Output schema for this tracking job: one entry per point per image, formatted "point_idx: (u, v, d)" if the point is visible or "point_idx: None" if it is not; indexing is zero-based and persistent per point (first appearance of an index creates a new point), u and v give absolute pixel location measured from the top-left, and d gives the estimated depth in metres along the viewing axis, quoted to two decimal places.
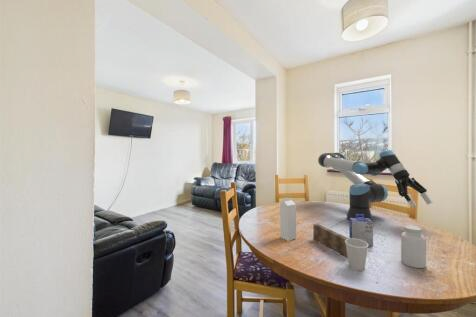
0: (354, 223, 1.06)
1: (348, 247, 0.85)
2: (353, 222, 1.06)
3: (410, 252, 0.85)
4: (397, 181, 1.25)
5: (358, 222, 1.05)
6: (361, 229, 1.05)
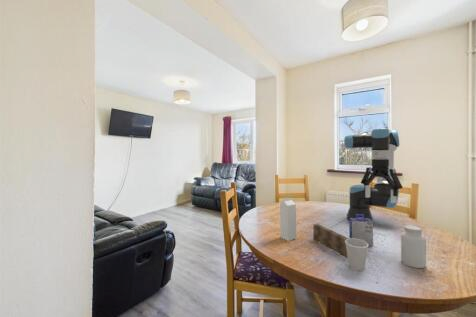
0: (354, 223, 1.06)
1: (348, 247, 0.85)
2: (353, 222, 1.06)
3: (410, 252, 0.85)
4: None
5: (358, 222, 1.05)
6: (361, 229, 1.05)
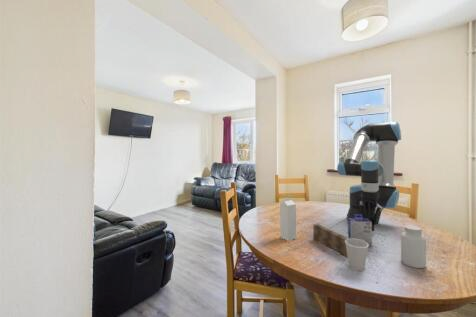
0: (353, 223, 1.05)
1: (348, 247, 0.85)
2: (352, 222, 1.05)
3: (410, 252, 0.85)
4: None
5: (357, 222, 1.05)
6: (359, 230, 1.05)
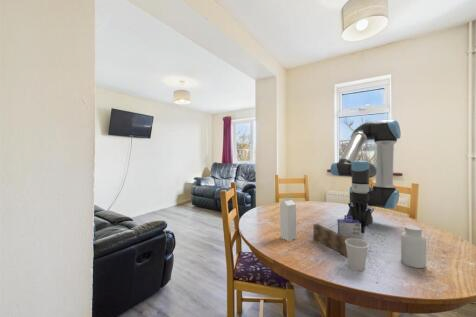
0: (342, 225, 1.04)
1: (348, 247, 0.85)
2: (341, 223, 1.04)
3: (410, 252, 0.85)
4: None
5: (346, 224, 1.03)
6: (348, 231, 1.03)
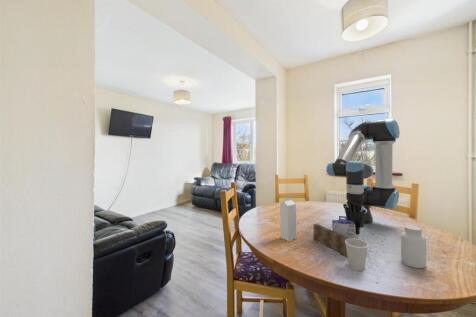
0: (335, 225, 1.03)
1: (348, 247, 0.85)
2: (334, 224, 1.03)
3: (410, 252, 0.85)
4: None
5: (340, 224, 1.03)
6: (342, 232, 1.02)
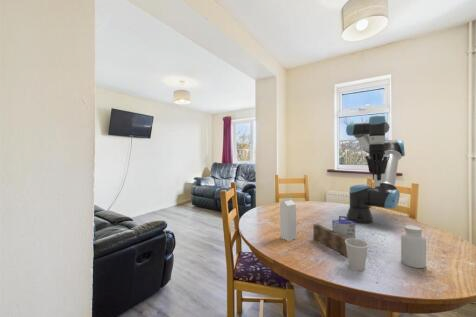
0: (336, 225, 1.03)
1: (348, 247, 0.85)
2: (334, 224, 1.03)
3: (410, 252, 0.85)
4: None
5: (340, 224, 1.03)
6: (342, 232, 1.02)
